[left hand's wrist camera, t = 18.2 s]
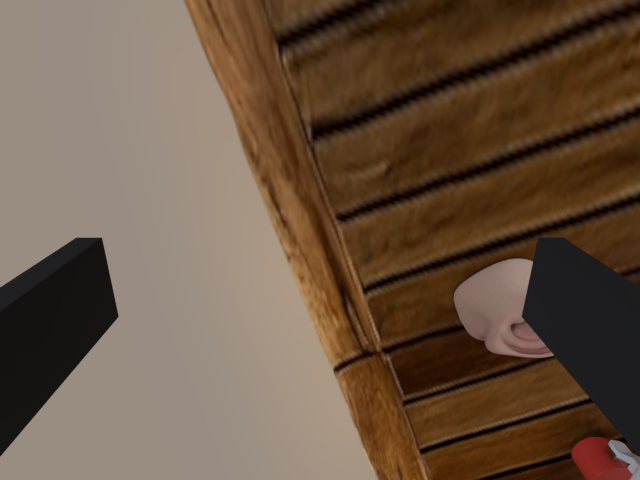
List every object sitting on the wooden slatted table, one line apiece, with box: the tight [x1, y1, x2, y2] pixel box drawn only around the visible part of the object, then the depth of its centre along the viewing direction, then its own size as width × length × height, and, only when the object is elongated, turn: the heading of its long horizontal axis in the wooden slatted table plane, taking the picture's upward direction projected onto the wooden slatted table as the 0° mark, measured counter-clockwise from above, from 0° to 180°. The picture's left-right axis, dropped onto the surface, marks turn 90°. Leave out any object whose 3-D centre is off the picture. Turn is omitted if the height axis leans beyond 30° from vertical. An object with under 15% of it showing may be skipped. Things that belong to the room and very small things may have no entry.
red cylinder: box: [572, 437, 632, 480], centre depth 48 cm, size 5×5×4 cm
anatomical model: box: [454, 258, 554, 358], centre depth 43 cm, size 13×4×12 cm
